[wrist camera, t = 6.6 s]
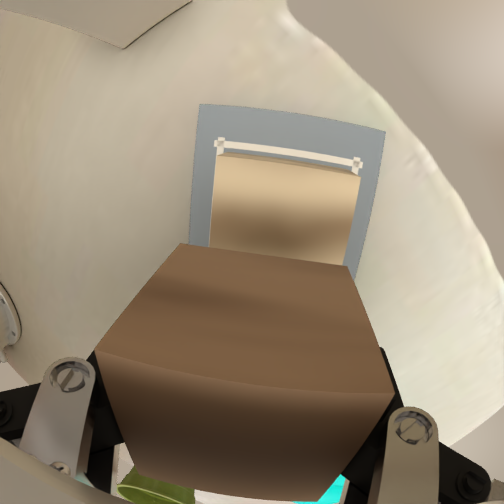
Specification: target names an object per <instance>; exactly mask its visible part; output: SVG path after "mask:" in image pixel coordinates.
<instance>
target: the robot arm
mask: <svg viewBox="0 0 504 504" xmlns="http://www.w3.org/2000/svg"><path fill="white" fill-rule="evenodd" d="M20 334H21V329H20V322H19V318H18V315H17V312H16V310H15V308H14V305H13V303H12V301H11V299H10V298H9V296H8V294H7V293H6V291H5V290H4V288H3V287H2V285H1V284H0V362H3V363H4V362H7V360H8V358H7V356H6V353H5V352H4V347H5V346H6V345H12V344H14V343H15V342H16V341H17V340H18V339H19V338H20ZM379 348H380V350H381V353H382V356H383V359H384V362H385V365H386V367H387V370H388V373H389V376H390V379H391V382H392V385H393V388H394V391H395V395H394V396H393V398H392V400H391V401H390V403H389V405H388V406H387V408H386V410H385V411H384V413H383V414H382V416H381V418H380V419H379V421H378V422H377V424H376V425H375V427H374V428H373V430H372V431H371V433H370V434H369V436H368V437H367V439H366V440H365V442H364V443H363V445H362V446H361V447H360V449H359V450H358V452H357V453H356V454H355V456H354V457H353V458H352V460H351V461H350V462H349V464H348V465H347V466H346V468H345V469H344V470H343V471H342V473H341V475H342V476H343V477H345V478H346V479H345V482H344V486H343V490H342V493H341V497H340V501H339V504H504V482H501V481H499V480H496V479H494V480H492V481H491V480H490V477H489V475H488V473H487V472H486V471H485V469H483V468H482V467H481V466H479V465H478V464H476V463H474V462H472V461H471V460H469V459H467V458H466V457H464V456H462V455H461V454H459V453H457V452H455V451H454V450H452V449H450V448H449V447H447V446H446V445H444V444H442V443H441V442H439V440H438V428H437V424H436V422H435V421H434V419H433V418H432V417H431V416H430V415H429V414H428V413H427V412H425V411H424V410H422V409H419V408H416V407H404V405H403V402H402V399H401V396H400V393H399V390H398V387H397V384H396V381H395V378H394V376H393V373H392V370H391V367H390V364H389V362H388V359H387V356H386V353H385V351H384V349H383V348H382V347H379ZM121 443H124V439H123V437H122V434H121V432H120V429H119V426H118V424H117V421H116V418H115V416H114V413H113V410H112V407H111V404H110V401H109V398H108V395H107V392H106V389H105V386H104V383H103V379H102V376H101V373H100V369H99V366H98V362H97V358H96V354H95V351H93V352H92V353H91V355H90V356H89V357H88V359H87V360H84V359H81V358H76V357H68V358H63V359H60V360H58V361H56V362H54V363H53V364H52V365H51V366H49V368H48V369H47V371H46V372H45V375H44V377H43V380H42V382H41V383H38V384H33V385H29V386H25V387H21V388H16V389H12V390H7V391H3V392H0V504H136V503H133V502H130V501H127V500H124V499H121V498H119V497H116V492H117V473H118V461H119V449H120V444H121Z"/></svg>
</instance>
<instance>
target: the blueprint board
mask: <svg viewBox="0 0 504 504" xmlns="http://www.w3.org/2000/svg"><path fill="white" fill-rule="evenodd" d="M385 134H386V132H385V131H381V130H377V129H373V128H369V127H365V126H360V125H356V124H351V123H346V122H342V121H337V120H332V119H326V118H321V117H315V116H309V115H303V114H297V113H290V112H283V111H275V110H267V109H259V108H249V107H238V106H226V105H211V104H200V106H199V115H198V124H197V134H196V144H195V156H194V168H193V181H192V195H191V211H190V230H189V245H196V246H203V247H209V240H210V226H211V213H212V201H213V189H214V178H215V167H216V157H217V155H220V154H223V153H226V152H235V153H244V154H252V155H260V156H268V157H276V158H283V159H290V160H296V161H303V162H309V163H315V164H321V165H326V166H332V167H337V168H343V169H348V170H350V171H351V172H353V173H355V174H357V175H358V176H360V177H361V180H360V186H359V191H358V196H357V201H356V206H355V211H354V216H353V220H352V225H351V230H350V234H349V239H348V243H347V247H346V251H345V256H344V260H343V264H342V265H343V266H347V267H348V269H349V271H350V274H351V276H352V279H353V281H354V279H355V275H356V272H357V268H358V264H359V260H360V256H361V253H362V249H363V245H364V241H365V236H366V232H367V228H368V224H369V219H370V215H371V210H372V206H373V201H374V196H375V191H376V186H377V181H378V176H379V170H380V165H381V159H382V153H383V147H384V140H385Z"/></svg>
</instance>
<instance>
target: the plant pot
mask: <svg viewBox="0 0 504 504" xmlns="http://www.w3.org/2000/svg"><path fill="white" fill-rule="evenodd" d="M117 493H118V494H119V495H121V496H122V497H123V498H125V499H126V500H128V501H130V502H133V503H136V504H195V497H194V489H191V488H187V487H183V486H178V485H174V484H170V483H167V482H163V481H159V480H156V479H152V478H149V477H146V476H142V475H139V474H138V471H137V469H136V467H135V465H134V466H133V468H132V469H131V471H130V473H129V474H127V475H126V477H125V478H124V479H123V480H122V482H121V483H120V484H117Z"/></svg>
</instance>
